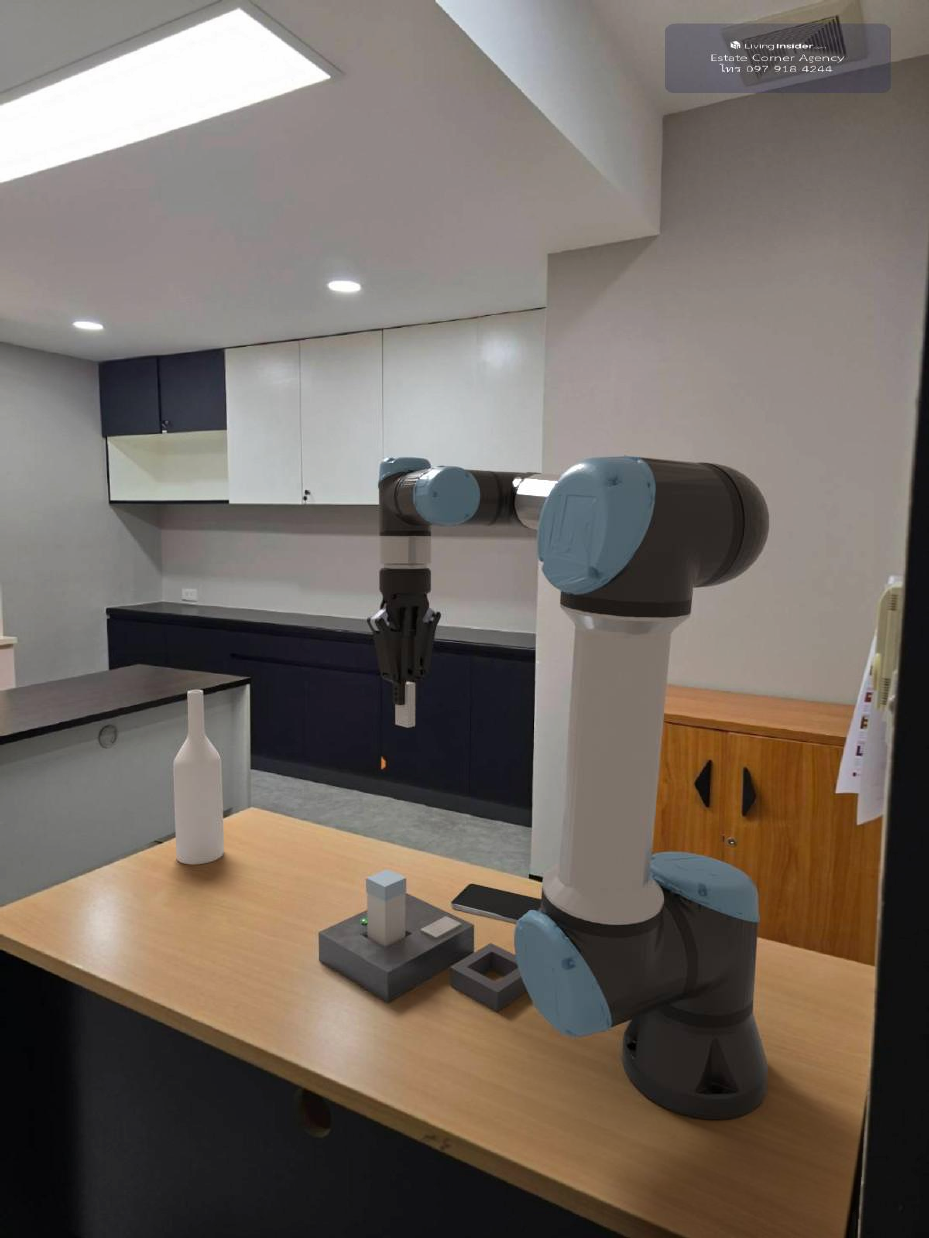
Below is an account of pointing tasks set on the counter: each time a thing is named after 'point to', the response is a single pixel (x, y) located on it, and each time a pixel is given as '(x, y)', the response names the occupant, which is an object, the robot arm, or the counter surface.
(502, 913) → the smartphone
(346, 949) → the panel
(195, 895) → the counter surface
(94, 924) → the counter surface
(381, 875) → the plug
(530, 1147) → the counter surface
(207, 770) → the bottle
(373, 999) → the counter surface
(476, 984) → the grey square ring
